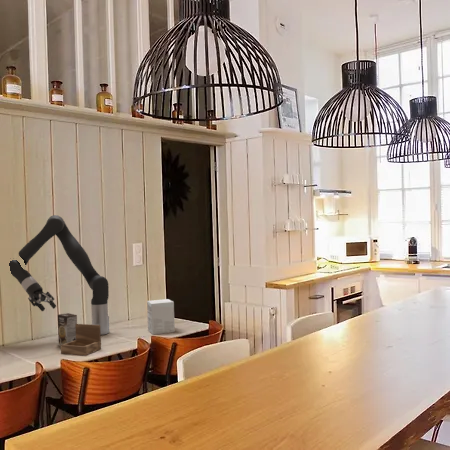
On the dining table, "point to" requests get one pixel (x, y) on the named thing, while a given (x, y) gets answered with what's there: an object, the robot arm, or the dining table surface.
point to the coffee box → (66, 328)
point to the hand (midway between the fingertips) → (49, 308)
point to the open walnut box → (84, 340)
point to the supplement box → (160, 316)
